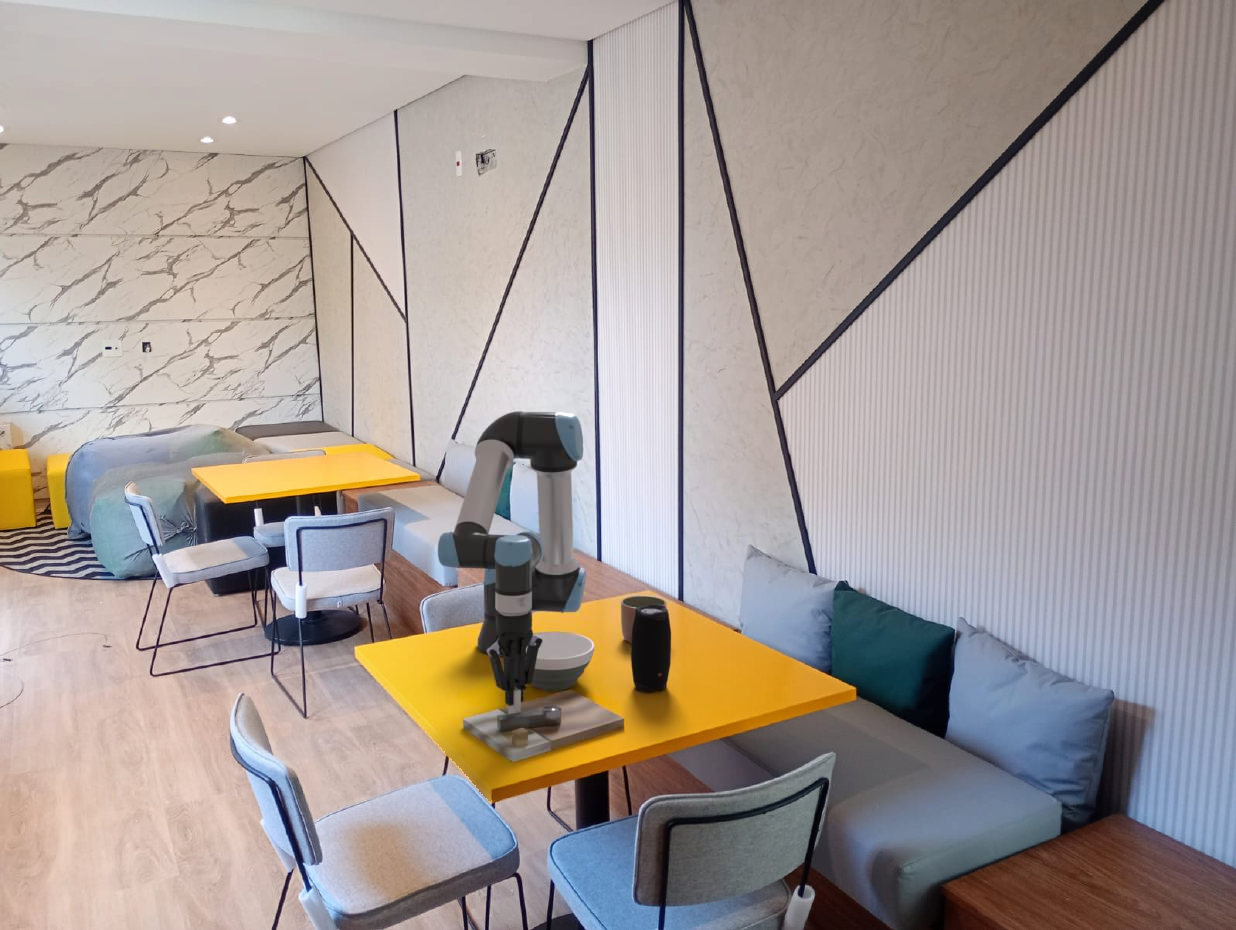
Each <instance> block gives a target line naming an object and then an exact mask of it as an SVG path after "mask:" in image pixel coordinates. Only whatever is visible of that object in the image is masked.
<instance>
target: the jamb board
mask: <svg viewBox="0 0 1236 930" xmlns="http://www.w3.org/2000/svg"><path fill="white" fill-rule="evenodd" d="M549 705H555V706H559V707H561V723H560V724H558V725H553V726H550V725H542V726H535V727H528V728H520V729H515V730H508V731H501V732H500V730H499V729H498V727H497V716H498V715H505V714H508V706H505V707H502V708H500V707H499V708H498V709H494V710H490V711H487V712H483V713H479V714H476V715H472V716H469V717H465V718H462V728H463V729H464V730H466V731H467V732H468V733H470V734H472V735H473V736H475V737H476V738H477V739H479V740H480V741H482V742H483V743H484V744H486V745H487V746H488V747H490V748H492V749H493V750H494V751H496V752H498V753H499V754H500V755H502V756H503V757H504V758H506V759H507V760H509V761H510V762H511V763H515V762H519V761H521V760H524V759H528V758H531V757H534V756H537V755H539V754H540V755H541V754H544V753H546V752H550V751H553V750H556V749H560V748H563V747H566V746H570V745H572V744H576V743H578V742H582V741H586V740H588V739H591V738H594V737H595V738H596V737H598V736H600V735H604V734H607V733H610V732H613V731H617V730H620V729H623V728H625V717H622V716H620V715H619V714H617V713H615V712H613V711H611V710H609V709H608V708H606V707H604V706H602V705H600V704H598V703H596V702H595V701H592V700H590V699H589V698H587V697H585V696H583V695H581V694H580V693H578V692H576V691H574V690H573V689H570V688H569V689H566V690H564V691H563V690H562V691H560V692H557V693H552V694H548V695H546V696H541V697H537V698H535V699H531V700H527V701H523V702H521V712H527V711H534V710H541V709H543V707H545V706H549Z"/></svg>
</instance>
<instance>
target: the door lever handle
mask: <svg viewBox="0 0 1236 930" xmlns="http://www.w3.org/2000/svg"><path fill="white" fill-rule="evenodd" d="M560 723H561V707H559V706H555V705H549V706H545V707H543V709H541V710H534V711H527V712H520V713H512V714H505V715H498V716H497V727H498V729H499V730H500V732H501V731H508V730H515V729H520V728H528V727H535V726H542V725H550V726H553V725H558V724H560Z"/></svg>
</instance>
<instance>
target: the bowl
mask: <svg viewBox="0 0 1236 930" xmlns="http://www.w3.org/2000/svg"><path fill="white" fill-rule="evenodd" d="M533 636H537V637H539V638H541V639H542V644H541V646H540V647H539V649H538V654H537V659H536V664H535V669H534V674H533V679H532V682H531V684H530V685H531V686H532V687H534V688H536V689H539V690H542V691H552V692H553V691H555V692H556V691H563V690H564V691H565V690H568V689H570V688H572V687H574V686H575V685H576V683H577V682H578V678H580V677H581V676H582V675H583V674H584V672H585V670H586V668H587V667H588V666H589V664H590V662H591V660H592V659H593V656H594V653H595V652H594V651H595V643H594V642H593V640H592V639H590V638H589V637H587V636H584V635H581V634H577V633H572V632H567V631H566V632H564V631H542V632H536V633H534V632H533ZM527 647H528V646H527ZM526 652H527V648H526Z"/></svg>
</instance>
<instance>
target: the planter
mask: <svg viewBox="0 0 1236 930" xmlns="http://www.w3.org/2000/svg"><path fill="white" fill-rule="evenodd" d="M650 604H659V605H663V606H665V608H666V609H667V601H666V600H665V599H664V598H661V597H658V596H651V595H633V596H632V595H631V596H627V597H625V598H623V599H621V601H620V616H621V617H620V619H621V620H620V623H621V633H622V637H623V638H624V640H625V641H626V642H629V643H630V644H631V643H632V627H633V622H634V618H635V611H636V607H642V606H647V605H650Z"/></svg>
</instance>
